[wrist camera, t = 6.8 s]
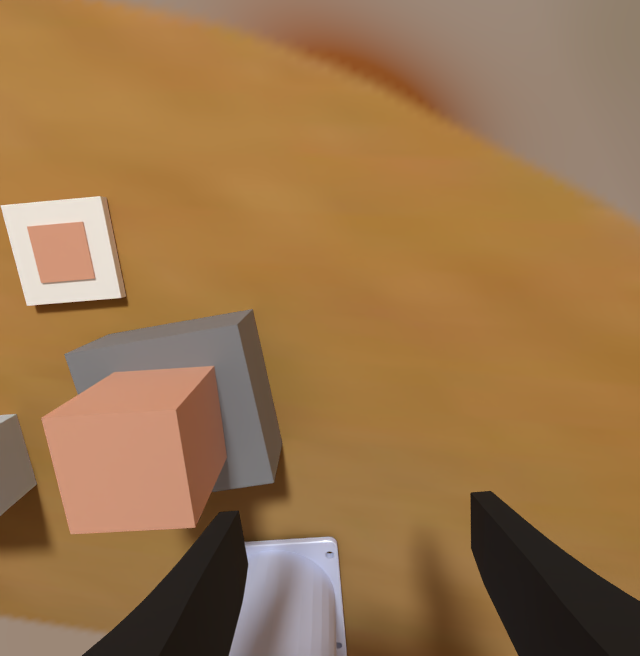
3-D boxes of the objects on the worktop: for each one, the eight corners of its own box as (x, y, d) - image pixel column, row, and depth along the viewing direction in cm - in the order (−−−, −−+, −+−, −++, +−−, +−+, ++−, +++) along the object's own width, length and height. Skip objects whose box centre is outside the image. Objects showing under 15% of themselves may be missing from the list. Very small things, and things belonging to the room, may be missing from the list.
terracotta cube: (227, 457, 18) (195, 527, 14) (132, 462, 18) (70, 534, 14) (214, 365, 17) (175, 409, 13) (114, 372, 17) (41, 417, 13)
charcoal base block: (283, 440, 23) (274, 482, 19) (151, 460, 23) (116, 506, 19) (253, 308, 21) (237, 324, 17) (112, 332, 21) (64, 354, 17)
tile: (126, 296, 20) (120, 298, 20) (34, 303, 20) (25, 305, 20) (105, 197, 19) (99, 196, 19) (8, 206, 19) (-1, 205, 19)
